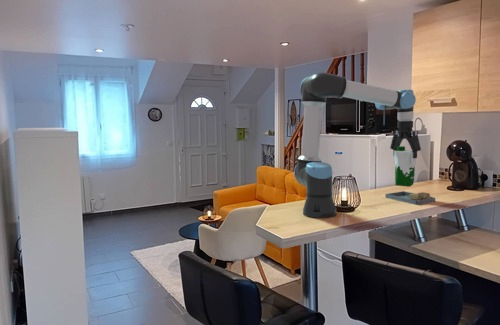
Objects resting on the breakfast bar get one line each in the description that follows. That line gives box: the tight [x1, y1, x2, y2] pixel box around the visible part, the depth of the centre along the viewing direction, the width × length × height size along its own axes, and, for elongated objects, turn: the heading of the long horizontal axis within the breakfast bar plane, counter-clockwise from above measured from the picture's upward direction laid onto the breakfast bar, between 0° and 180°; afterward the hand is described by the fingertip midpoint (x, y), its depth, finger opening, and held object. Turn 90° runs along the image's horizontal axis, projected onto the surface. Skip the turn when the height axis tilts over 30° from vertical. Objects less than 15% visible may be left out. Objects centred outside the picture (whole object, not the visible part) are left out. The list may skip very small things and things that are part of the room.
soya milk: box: [394, 145, 416, 188], centre depth 196 cm, size 9×9×20 cm
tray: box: [385, 190, 436, 206], centre depth 195 cm, size 13×20×2 cm, turn 25°
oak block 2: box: [417, 191, 431, 200], centre depth 190 cm, size 4×4×4 cm
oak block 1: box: [409, 192, 421, 201], centre depth 188 cm, size 4×4×4 cm
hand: (404, 163), depth 196 cm, fingers closed on soya milk, 10 cm apart
